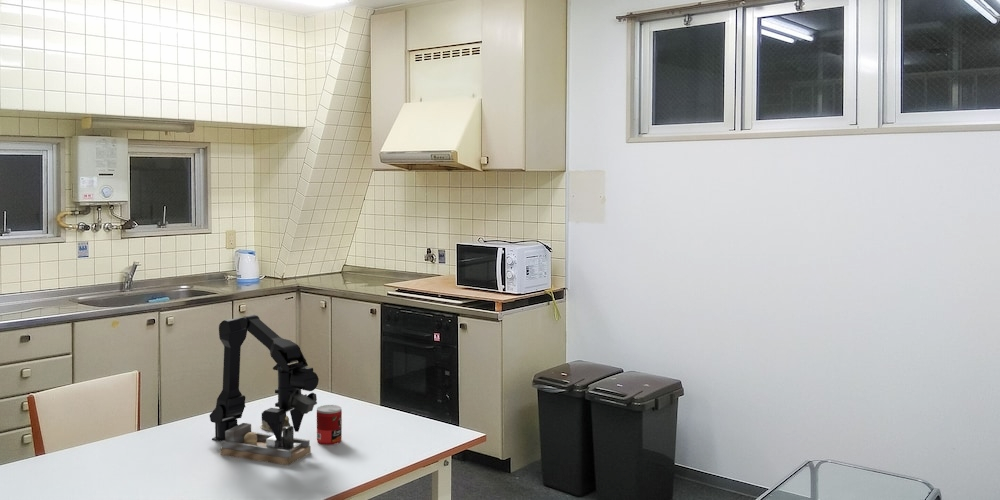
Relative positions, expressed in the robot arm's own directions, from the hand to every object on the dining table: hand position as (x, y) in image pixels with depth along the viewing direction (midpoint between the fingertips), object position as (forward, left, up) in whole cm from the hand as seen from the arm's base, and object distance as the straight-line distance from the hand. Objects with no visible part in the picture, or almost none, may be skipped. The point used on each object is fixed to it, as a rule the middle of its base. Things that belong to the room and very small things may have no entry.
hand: (288, 436), depth 242 cm
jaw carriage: (-2, 0, -4) cm, 5 cm away
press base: (-8, 0, -6) cm, 10 cm away
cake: (-21, +23, -7) cm, 32 cm away
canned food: (+4, +17, -7) cm, 19 cm away
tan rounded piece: (-13, 0, -4) cm, 14 cm away
